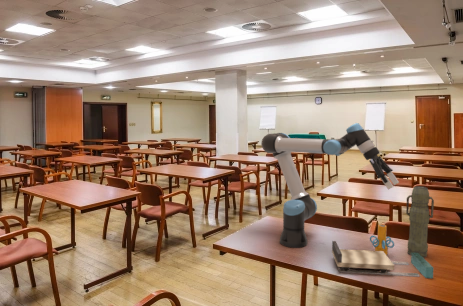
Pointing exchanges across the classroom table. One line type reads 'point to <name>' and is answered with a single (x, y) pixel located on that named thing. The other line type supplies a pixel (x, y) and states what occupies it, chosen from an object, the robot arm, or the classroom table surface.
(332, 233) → the classroom table surface
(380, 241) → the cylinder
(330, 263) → the classroom table surface
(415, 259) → the track
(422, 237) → the thermos
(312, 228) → the classroom table surface
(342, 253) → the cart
